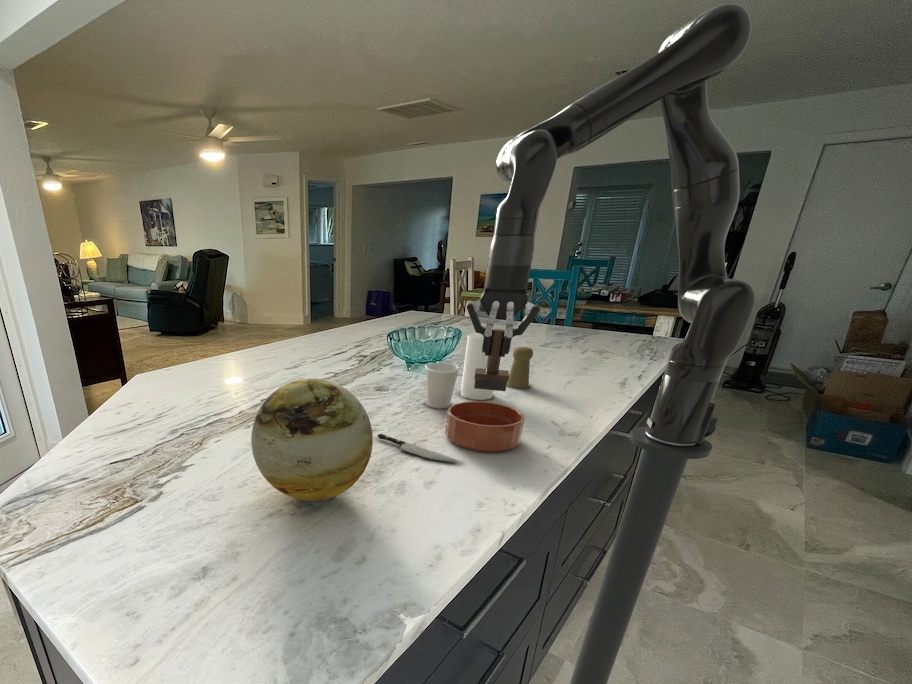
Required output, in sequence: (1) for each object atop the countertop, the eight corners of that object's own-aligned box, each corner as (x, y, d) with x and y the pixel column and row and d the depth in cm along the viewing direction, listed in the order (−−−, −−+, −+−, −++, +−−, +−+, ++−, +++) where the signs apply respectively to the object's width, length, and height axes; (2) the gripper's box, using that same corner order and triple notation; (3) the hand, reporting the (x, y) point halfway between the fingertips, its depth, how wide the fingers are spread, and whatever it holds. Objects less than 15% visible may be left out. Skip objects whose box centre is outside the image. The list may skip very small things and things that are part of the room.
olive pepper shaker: (522, 389, 132) (529, 350, 127) (502, 385, 136) (508, 347, 131) (532, 385, 135) (539, 347, 131) (512, 380, 139) (518, 344, 135)
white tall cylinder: (473, 388, 133) (481, 331, 126) (498, 396, 127) (508, 336, 120) (454, 394, 129) (461, 335, 122) (478, 401, 123) (487, 340, 116)
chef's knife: (452, 468, 88) (460, 462, 90) (453, 463, 88) (460, 457, 90) (370, 441, 100) (378, 436, 102) (370, 436, 100) (379, 431, 102)
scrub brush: (506, 385, 97) (515, 328, 92) (506, 391, 93) (516, 333, 88) (473, 382, 99) (481, 327, 94) (472, 388, 95) (481, 331, 90)
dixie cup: (432, 411, 116) (436, 372, 112) (415, 401, 124) (419, 364, 119) (461, 407, 119) (466, 369, 115) (443, 398, 126) (447, 361, 122)
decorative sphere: (271, 463, 91) (265, 363, 83) (373, 470, 88) (378, 366, 80) (240, 519, 74) (229, 398, 65) (366, 530, 70) (371, 404, 62)
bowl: (517, 430, 105) (522, 405, 102) (521, 458, 92) (526, 430, 89) (447, 422, 110) (450, 398, 107) (441, 448, 97) (444, 421, 94)
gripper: (469, 263, 85) (457, 357, 92) (553, 264, 81) (533, 362, 88) (470, 260, 91) (459, 349, 99) (548, 261, 87) (531, 353, 94)
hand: (494, 355), depth 93 cm, fingers closed on scrub brush, 2 cm apart
